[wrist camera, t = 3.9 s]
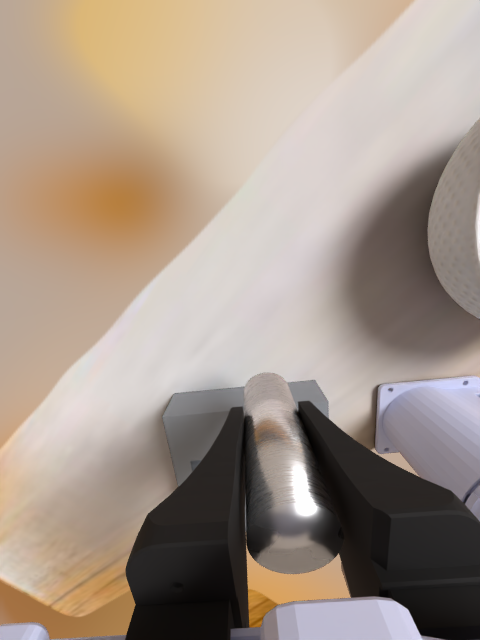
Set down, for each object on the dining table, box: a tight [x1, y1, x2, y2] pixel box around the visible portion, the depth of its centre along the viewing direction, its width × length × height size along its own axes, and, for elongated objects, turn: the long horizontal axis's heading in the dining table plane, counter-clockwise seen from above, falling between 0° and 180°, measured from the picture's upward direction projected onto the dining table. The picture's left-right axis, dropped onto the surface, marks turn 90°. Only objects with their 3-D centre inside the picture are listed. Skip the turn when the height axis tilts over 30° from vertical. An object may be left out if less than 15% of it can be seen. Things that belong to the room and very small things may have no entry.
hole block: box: [162, 380, 329, 528], centre depth 22 cm, size 14×14×4 cm
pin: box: [244, 373, 344, 574], centre depth 11 cm, size 3×3×8 cm
